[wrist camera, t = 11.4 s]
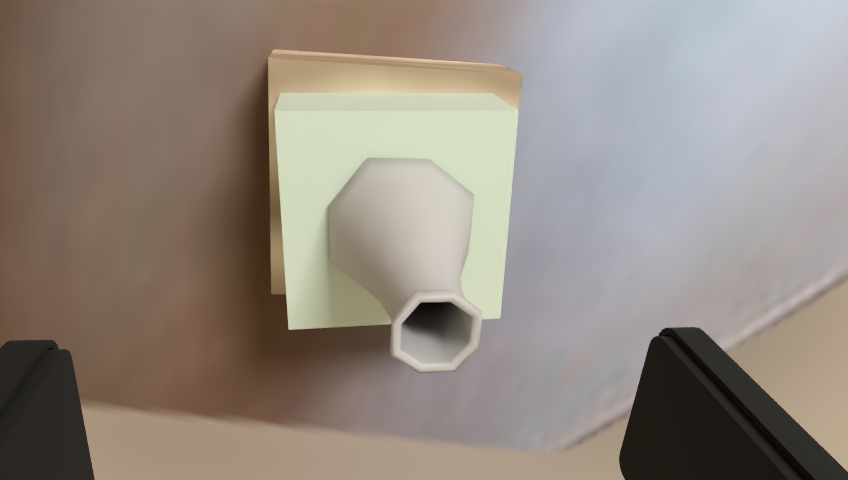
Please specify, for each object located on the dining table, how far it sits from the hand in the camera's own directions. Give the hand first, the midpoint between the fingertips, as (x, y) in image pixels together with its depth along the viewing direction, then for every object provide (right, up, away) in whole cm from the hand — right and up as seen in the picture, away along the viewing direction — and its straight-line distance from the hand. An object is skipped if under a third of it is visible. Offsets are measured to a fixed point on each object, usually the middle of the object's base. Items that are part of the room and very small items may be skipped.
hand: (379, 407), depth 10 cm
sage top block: (-1, +5, +24) cm, 24 cm away
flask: (0, +3, +20) cm, 20 cm away
